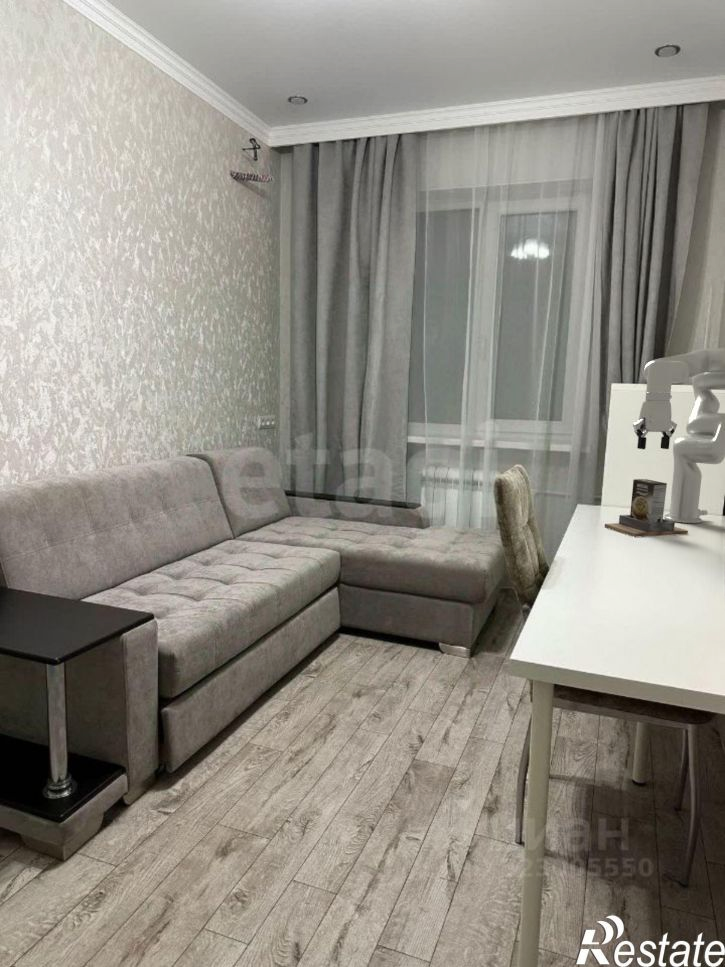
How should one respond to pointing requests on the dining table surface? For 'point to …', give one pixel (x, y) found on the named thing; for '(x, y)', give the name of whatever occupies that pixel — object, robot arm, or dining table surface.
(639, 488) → the coffee box
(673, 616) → the dining table surface
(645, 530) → the slot board
